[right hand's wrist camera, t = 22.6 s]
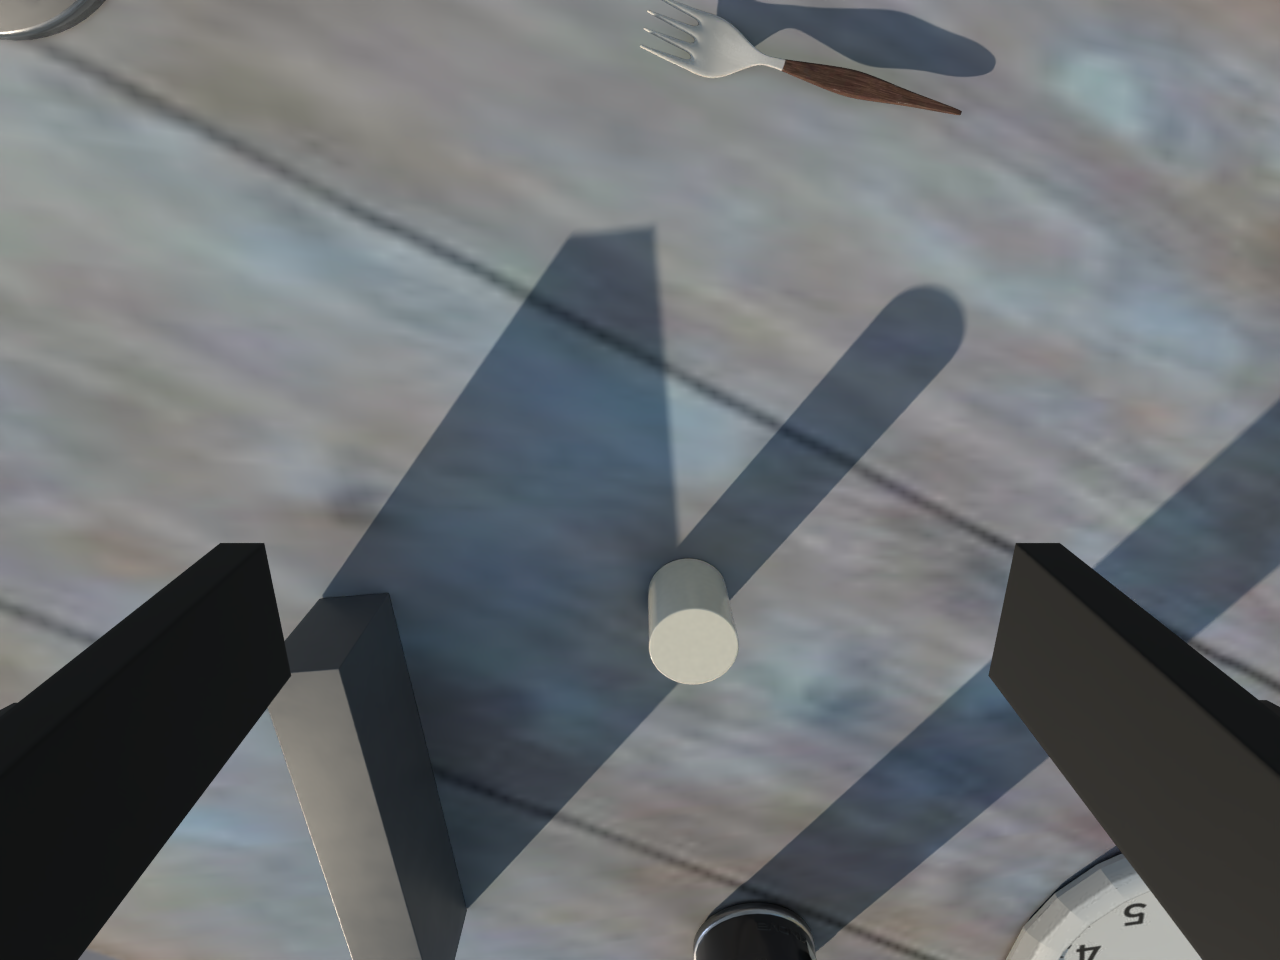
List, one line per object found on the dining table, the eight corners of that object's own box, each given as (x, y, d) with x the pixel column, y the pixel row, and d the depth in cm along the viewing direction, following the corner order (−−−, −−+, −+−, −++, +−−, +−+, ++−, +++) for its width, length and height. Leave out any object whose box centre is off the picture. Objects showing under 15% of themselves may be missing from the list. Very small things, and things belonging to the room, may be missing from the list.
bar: (319, 598, 45) (255, 674, 38) (388, 592, 45) (339, 668, 38) (409, 914, 55) (373, 1024, 48) (467, 910, 55) (439, 1020, 48)
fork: (946, 143, 36) (963, 139, 34) (638, 60, 35) (638, 51, 33) (966, 85, 35) (985, 78, 33) (651, -2, 34) (652, -15, 32)
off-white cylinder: (648, 557, 44) (649, 608, 39) (728, 557, 44) (741, 608, 39) (647, 627, 46) (648, 684, 40) (725, 627, 46) (736, 685, 40)
